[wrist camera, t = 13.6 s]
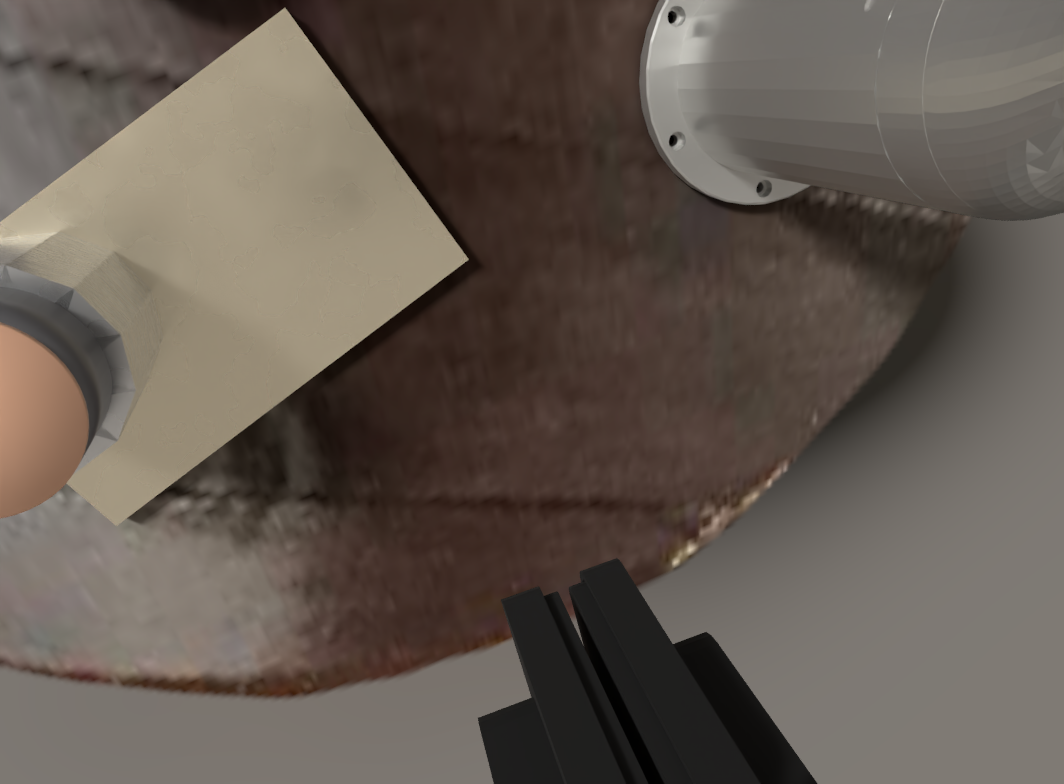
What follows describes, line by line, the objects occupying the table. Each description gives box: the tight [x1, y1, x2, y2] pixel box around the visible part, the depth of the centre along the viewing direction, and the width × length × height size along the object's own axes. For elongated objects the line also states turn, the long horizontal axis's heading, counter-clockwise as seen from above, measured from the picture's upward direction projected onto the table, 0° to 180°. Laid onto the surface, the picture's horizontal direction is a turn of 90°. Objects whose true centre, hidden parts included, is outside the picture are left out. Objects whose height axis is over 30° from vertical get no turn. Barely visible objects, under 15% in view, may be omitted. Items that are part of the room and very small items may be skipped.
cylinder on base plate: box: [0, 8, 469, 526], centre depth 33 cm, size 21×13×8 cm, turn 125°
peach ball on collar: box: [0, 287, 112, 518], centre depth 28 cm, size 7×7×7 cm
